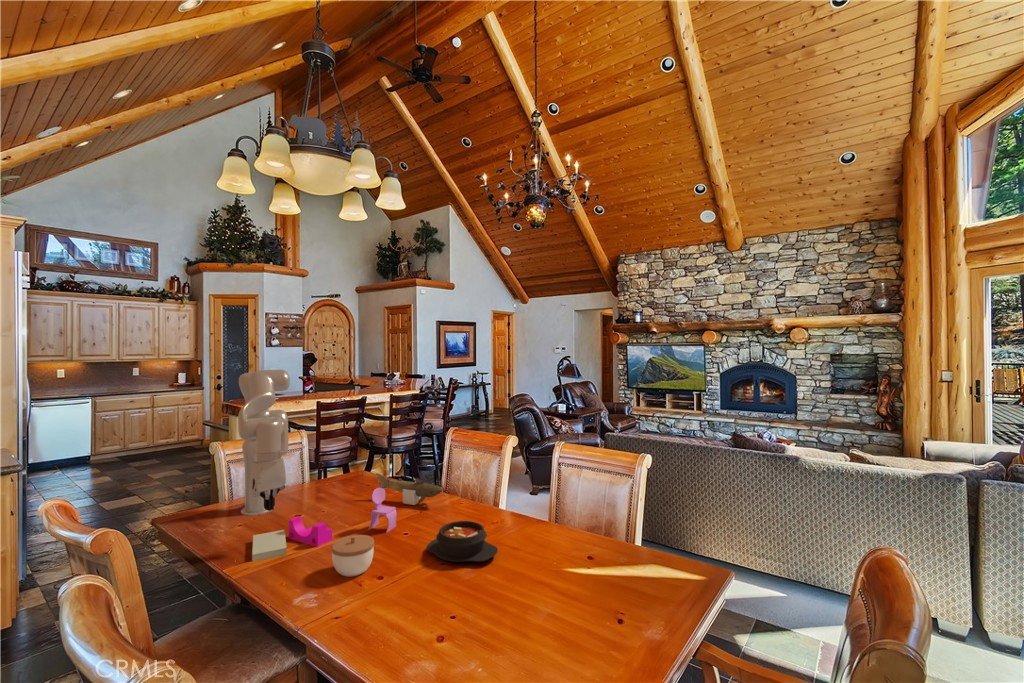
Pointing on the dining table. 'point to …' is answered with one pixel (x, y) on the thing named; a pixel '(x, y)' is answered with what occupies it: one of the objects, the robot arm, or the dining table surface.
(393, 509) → the toy chair
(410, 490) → the wood carving
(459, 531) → the casserole
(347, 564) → the lidded bowl
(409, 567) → the dining table surface
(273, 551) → the base slab
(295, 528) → the toy block
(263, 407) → the robot arm
